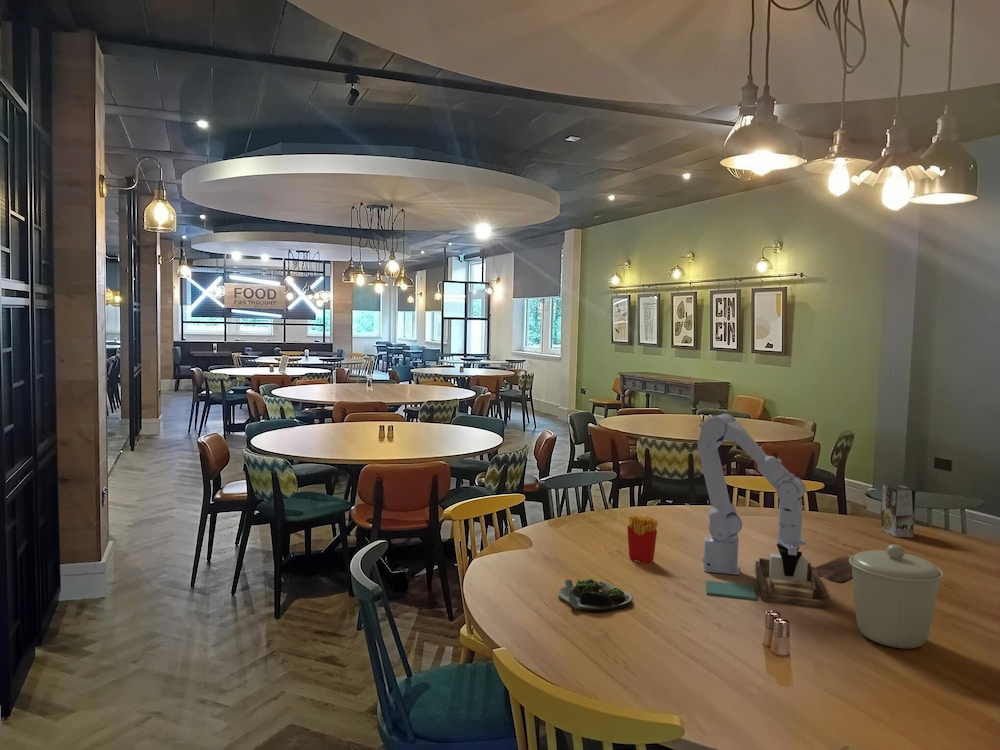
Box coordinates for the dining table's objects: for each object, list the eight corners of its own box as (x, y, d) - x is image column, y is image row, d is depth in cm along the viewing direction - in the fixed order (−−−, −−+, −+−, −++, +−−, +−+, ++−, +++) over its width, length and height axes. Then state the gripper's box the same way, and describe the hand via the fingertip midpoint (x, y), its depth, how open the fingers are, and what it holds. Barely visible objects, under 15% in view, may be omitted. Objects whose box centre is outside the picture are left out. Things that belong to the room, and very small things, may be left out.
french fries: (624, 558, 206) (625, 515, 205) (631, 555, 209) (632, 512, 208) (652, 565, 200) (653, 521, 199) (659, 561, 203) (660, 518, 202)
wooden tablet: (842, 551, 213) (877, 555, 205) (842, 559, 212) (878, 563, 205) (804, 571, 195) (841, 576, 187) (805, 579, 194) (842, 585, 187)
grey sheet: (770, 584, 186) (771, 556, 186) (769, 580, 189) (770, 553, 188) (806, 588, 184) (807, 560, 183) (804, 584, 186) (806, 556, 186)
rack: (762, 600, 174) (762, 585, 174) (755, 571, 196) (755, 557, 196) (828, 608, 170) (828, 592, 170) (813, 577, 192) (814, 563, 192)
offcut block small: (773, 599, 176) (774, 587, 176) (774, 595, 179) (774, 584, 178) (812, 605, 173) (813, 593, 173) (812, 601, 175) (812, 590, 175)
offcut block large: (771, 595, 179) (772, 582, 179) (769, 591, 181) (770, 578, 181) (812, 598, 177) (813, 585, 177) (810, 595, 179) (811, 581, 179)
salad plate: (539, 591, 180) (540, 573, 180) (597, 581, 188) (597, 564, 187) (580, 619, 162) (580, 600, 162) (642, 607, 170) (642, 588, 170)
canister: (939, 665, 141) (945, 564, 140) (841, 643, 151) (845, 548, 149) (939, 633, 156) (944, 541, 155) (849, 615, 166) (853, 528, 165)
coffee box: (914, 537, 232) (916, 489, 231) (894, 537, 232) (897, 489, 231) (898, 529, 241) (901, 483, 240) (880, 529, 241) (882, 483, 240)
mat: (706, 594, 178) (706, 592, 178) (706, 582, 187) (706, 580, 187) (756, 600, 175) (756, 597, 175) (753, 587, 183) (753, 585, 183)
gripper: (810, 532, 177) (808, 584, 178) (802, 518, 191) (800, 566, 192) (780, 530, 179) (778, 581, 180) (774, 515, 193) (773, 563, 194)
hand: (788, 573), depth 186 cm, fingers closed on grey sheet, 3 cm apart
